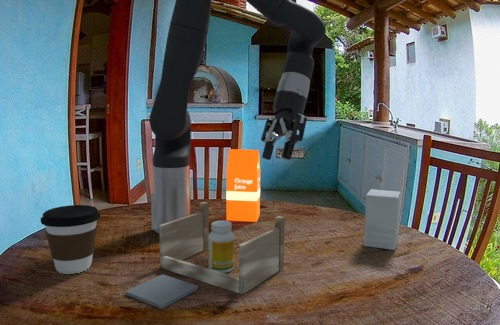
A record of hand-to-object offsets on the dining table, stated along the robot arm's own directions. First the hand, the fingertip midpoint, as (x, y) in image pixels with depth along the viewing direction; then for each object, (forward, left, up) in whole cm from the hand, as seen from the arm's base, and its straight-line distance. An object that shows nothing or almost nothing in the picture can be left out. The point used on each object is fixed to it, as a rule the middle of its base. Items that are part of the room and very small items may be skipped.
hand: (275, 158), depth 101 cm
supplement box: (+22, +14, -21) cm, 33 cm away
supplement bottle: (0, -21, -21) cm, 29 cm away
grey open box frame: (0, -21, -20) cm, 29 cm away
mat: (-2, -35, -20) cm, 41 cm away
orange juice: (-18, +13, -21) cm, 30 cm away
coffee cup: (-24, -38, -21) cm, 50 cm away
